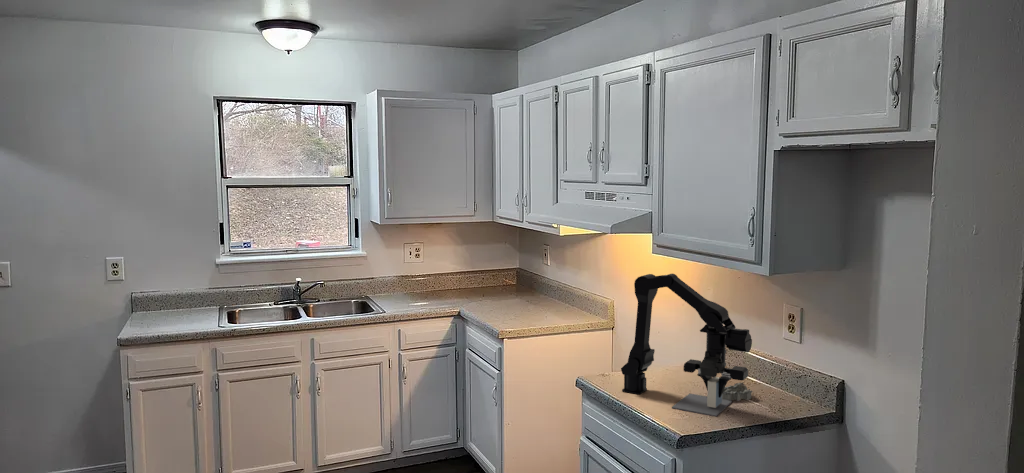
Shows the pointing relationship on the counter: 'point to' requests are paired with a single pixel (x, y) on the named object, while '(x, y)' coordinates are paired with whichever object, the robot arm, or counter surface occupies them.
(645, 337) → the robot arm
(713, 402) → the card box
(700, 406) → the mat
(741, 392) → the egg carton
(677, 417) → the counter surface
